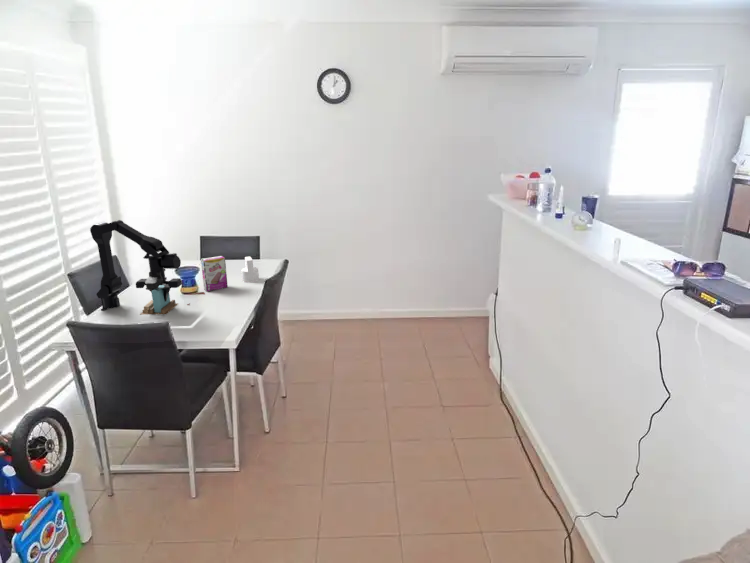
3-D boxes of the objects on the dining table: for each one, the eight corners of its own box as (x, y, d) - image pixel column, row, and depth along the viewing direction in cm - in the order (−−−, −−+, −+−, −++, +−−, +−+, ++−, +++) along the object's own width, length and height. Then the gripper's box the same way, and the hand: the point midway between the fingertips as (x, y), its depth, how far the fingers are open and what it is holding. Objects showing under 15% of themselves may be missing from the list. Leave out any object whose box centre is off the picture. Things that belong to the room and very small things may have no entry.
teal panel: (154, 312, 223) (151, 291, 220) (163, 304, 232) (160, 284, 229) (161, 312, 223) (158, 291, 220) (170, 304, 232) (167, 284, 229)
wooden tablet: (207, 310, 230) (207, 306, 229) (184, 313, 227) (183, 309, 226) (206, 292, 254) (206, 289, 253) (185, 295, 251) (185, 291, 250)
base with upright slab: (260, 281, 270) (258, 259, 266) (243, 283, 266) (241, 261, 263) (257, 276, 278) (255, 255, 274) (241, 278, 274) (238, 257, 271)
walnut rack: (139, 316, 221) (138, 310, 220) (153, 305, 235) (152, 299, 234) (166, 316, 221) (165, 309, 220) (179, 305, 234) (178, 299, 233)
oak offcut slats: (142, 312, 223) (141, 307, 222) (152, 305, 232) (151, 300, 232) (148, 312, 223) (147, 307, 222) (158, 305, 232) (157, 299, 232)
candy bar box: (207, 292, 253) (203, 260, 248) (203, 289, 257) (200, 258, 252) (228, 287, 259) (225, 257, 254) (225, 285, 263) (221, 255, 258)
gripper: (127, 273, 214) (132, 307, 219) (170, 273, 214) (175, 307, 219) (139, 266, 225) (144, 299, 229) (180, 266, 224) (184, 298, 229)
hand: (161, 301), depth 226 cm, fingers closed on teal panel, 3 cm apart
